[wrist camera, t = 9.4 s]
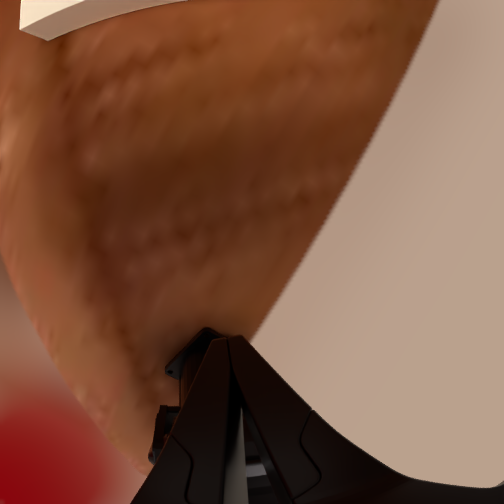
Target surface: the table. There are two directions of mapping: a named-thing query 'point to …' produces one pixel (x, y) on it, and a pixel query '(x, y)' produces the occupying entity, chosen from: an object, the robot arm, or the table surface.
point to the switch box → (74, 14)
